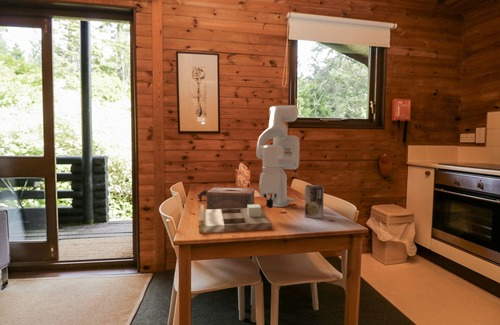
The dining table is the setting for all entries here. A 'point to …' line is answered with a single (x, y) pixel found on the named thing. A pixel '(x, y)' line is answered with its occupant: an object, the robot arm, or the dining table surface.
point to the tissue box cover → (229, 198)
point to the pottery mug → (202, 194)
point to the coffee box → (314, 201)
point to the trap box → (230, 220)
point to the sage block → (254, 210)
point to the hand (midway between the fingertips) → (269, 207)
